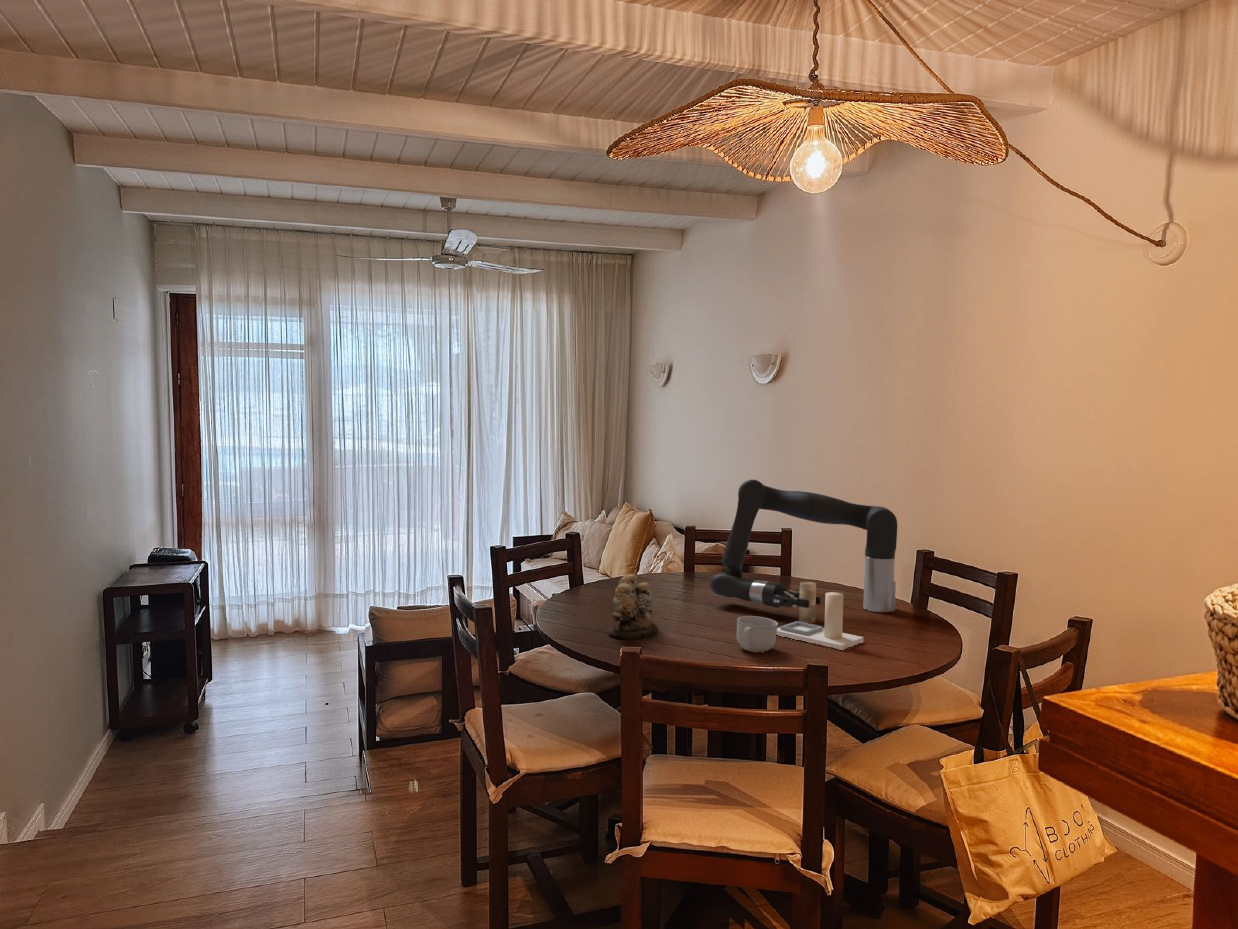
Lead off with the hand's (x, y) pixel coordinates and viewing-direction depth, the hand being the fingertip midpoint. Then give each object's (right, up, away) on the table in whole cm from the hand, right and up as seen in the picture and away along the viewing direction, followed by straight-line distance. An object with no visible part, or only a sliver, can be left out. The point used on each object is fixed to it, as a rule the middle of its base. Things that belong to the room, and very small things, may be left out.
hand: (814, 602), depth 249 cm
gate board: (-3, -7, -16) cm, 18 cm away
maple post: (-2, -6, +2) cm, 7 cm away
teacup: (-23, -8, -29) cm, 37 cm away
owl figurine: (-55, -7, -12) cm, 57 cm away
